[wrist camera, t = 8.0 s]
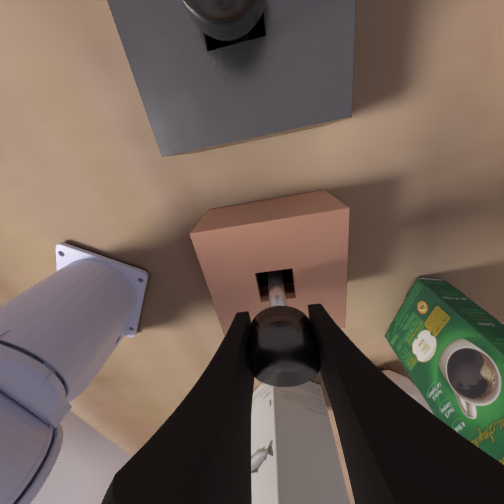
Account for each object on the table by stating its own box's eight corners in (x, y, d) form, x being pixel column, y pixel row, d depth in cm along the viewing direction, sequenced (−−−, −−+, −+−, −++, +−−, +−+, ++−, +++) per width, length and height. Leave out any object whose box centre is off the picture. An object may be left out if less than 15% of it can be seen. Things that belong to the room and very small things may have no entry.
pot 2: (325, 286, 19) (345, 327, 15) (233, 297, 20) (226, 339, 16) (323, 189, 15) (349, 207, 11) (208, 209, 16) (189, 233, 12)
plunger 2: (296, 282, 16) (322, 384, 9) (257, 287, 16) (255, 389, 9) (292, 248, 14) (320, 338, 8) (250, 254, 15) (242, 345, 8)
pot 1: (321, 126, 13) (351, 116, 9) (191, 153, 14) (161, 156, 10) (316, -100, 9) (366, -318, 5) (137, -39, 10) (46, -174, 6)
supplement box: (272, 366, 25) (280, 542, 14) (322, 384, 27) (367, 557, 15) (247, 395, 29) (238, 557, 17) (293, 410, 30) (312, 569, 19)
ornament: (361, 355, 24) (445, 408, 17) (382, 360, 27) (457, 404, 21) (338, 409, 23) (416, 482, 17) (363, 406, 27) (434, 464, 21)
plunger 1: (270, 76, 12) (282, -13, 5) (220, 89, 12) (171, 20, 6) (262, 3, 11) (264, -247, 4) (206, 19, 11) (118, -185, 4)
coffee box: (407, 339, 22) (568, 552, 11) (381, 337, 22) (513, 547, 11) (446, 278, 18) (758, 504, 7) (414, 275, 18) (673, 497, 7)
